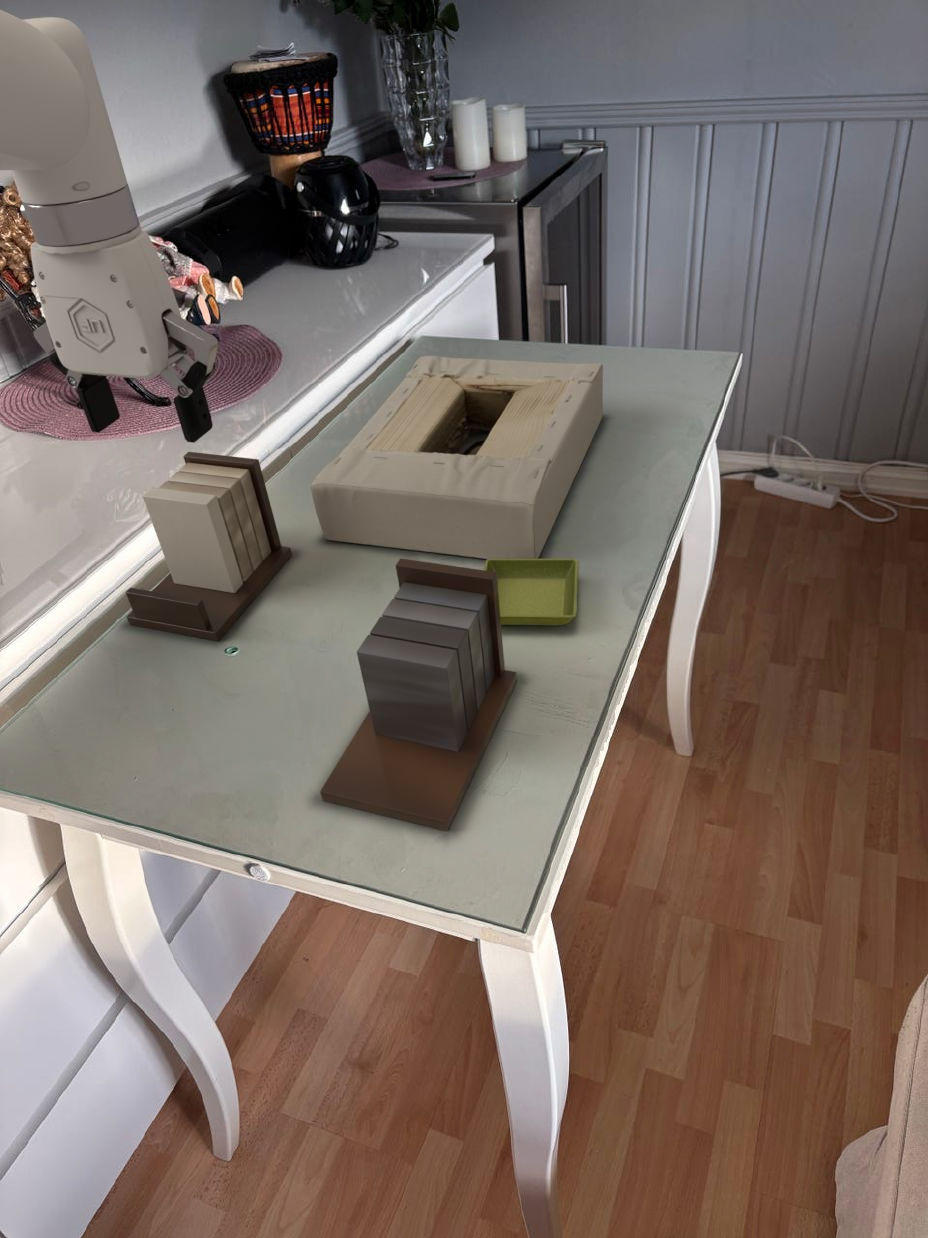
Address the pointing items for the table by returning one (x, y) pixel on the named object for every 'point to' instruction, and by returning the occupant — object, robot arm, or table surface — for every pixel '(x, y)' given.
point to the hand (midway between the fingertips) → (152, 430)
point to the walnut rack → (426, 696)
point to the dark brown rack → (250, 542)
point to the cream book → (194, 539)
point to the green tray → (536, 590)
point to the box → (465, 458)
